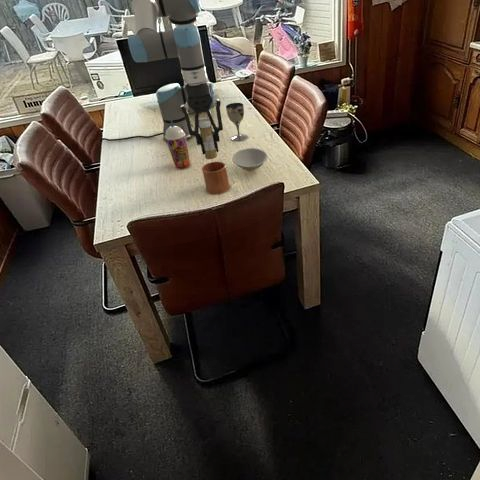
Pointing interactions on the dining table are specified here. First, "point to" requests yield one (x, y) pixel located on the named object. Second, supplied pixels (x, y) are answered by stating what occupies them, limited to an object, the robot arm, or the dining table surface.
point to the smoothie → (177, 146)
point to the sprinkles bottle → (207, 138)
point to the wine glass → (236, 117)
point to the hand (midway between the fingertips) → (210, 151)
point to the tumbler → (215, 177)
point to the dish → (249, 158)
